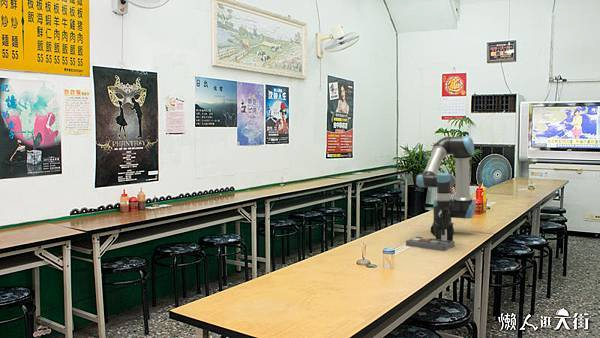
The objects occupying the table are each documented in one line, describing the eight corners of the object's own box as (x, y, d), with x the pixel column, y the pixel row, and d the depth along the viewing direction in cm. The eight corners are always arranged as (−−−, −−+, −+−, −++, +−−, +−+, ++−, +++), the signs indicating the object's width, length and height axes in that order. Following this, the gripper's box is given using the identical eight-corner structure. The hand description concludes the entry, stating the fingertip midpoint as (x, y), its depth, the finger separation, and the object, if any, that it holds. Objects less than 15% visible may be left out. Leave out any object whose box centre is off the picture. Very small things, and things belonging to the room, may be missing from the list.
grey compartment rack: (417, 242, 320) (417, 236, 320) (454, 247, 305) (454, 241, 304) (406, 247, 310) (406, 240, 309) (444, 252, 294) (444, 245, 294)
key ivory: (415, 241, 316) (415, 237, 316) (421, 242, 313) (421, 238, 313) (411, 243, 312) (411, 239, 312) (418, 244, 310) (418, 240, 309)
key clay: (423, 241, 312) (423, 237, 312) (430, 242, 309) (430, 238, 309) (420, 242, 309) (420, 238, 308) (427, 243, 306) (427, 239, 306)
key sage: (432, 244, 308) (432, 240, 308) (439, 245, 305) (439, 241, 305) (429, 245, 305) (429, 241, 305) (436, 246, 302) (436, 242, 302)
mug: (448, 245, 313) (448, 225, 312) (426, 241, 323) (426, 222, 322) (456, 241, 321) (456, 222, 320) (435, 238, 330) (435, 220, 330)
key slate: (442, 245, 305) (442, 241, 304) (449, 246, 302) (449, 242, 302) (438, 246, 301) (438, 242, 301) (445, 247, 298) (445, 243, 298)
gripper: (442, 198, 307) (442, 237, 309) (432, 201, 297) (433, 241, 299) (454, 199, 302) (454, 238, 304) (445, 202, 292) (445, 243, 294)
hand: (444, 240), depth 302 cm, fingers closed
